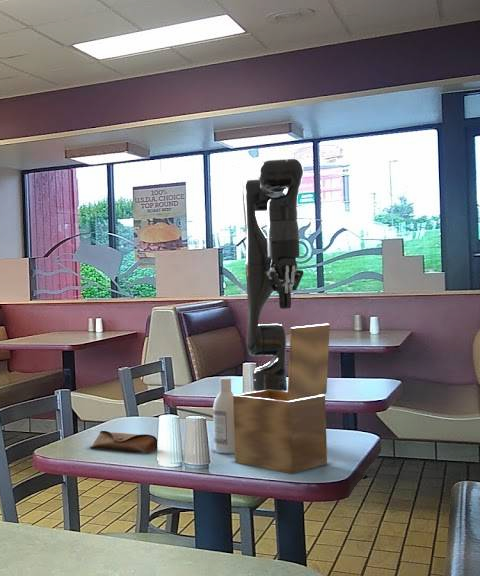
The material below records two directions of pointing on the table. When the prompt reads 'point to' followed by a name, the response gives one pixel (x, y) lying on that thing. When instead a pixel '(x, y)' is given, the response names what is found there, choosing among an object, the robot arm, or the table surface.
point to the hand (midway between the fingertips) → (285, 308)
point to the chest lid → (308, 361)
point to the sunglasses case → (125, 442)
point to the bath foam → (224, 419)
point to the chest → (280, 431)
